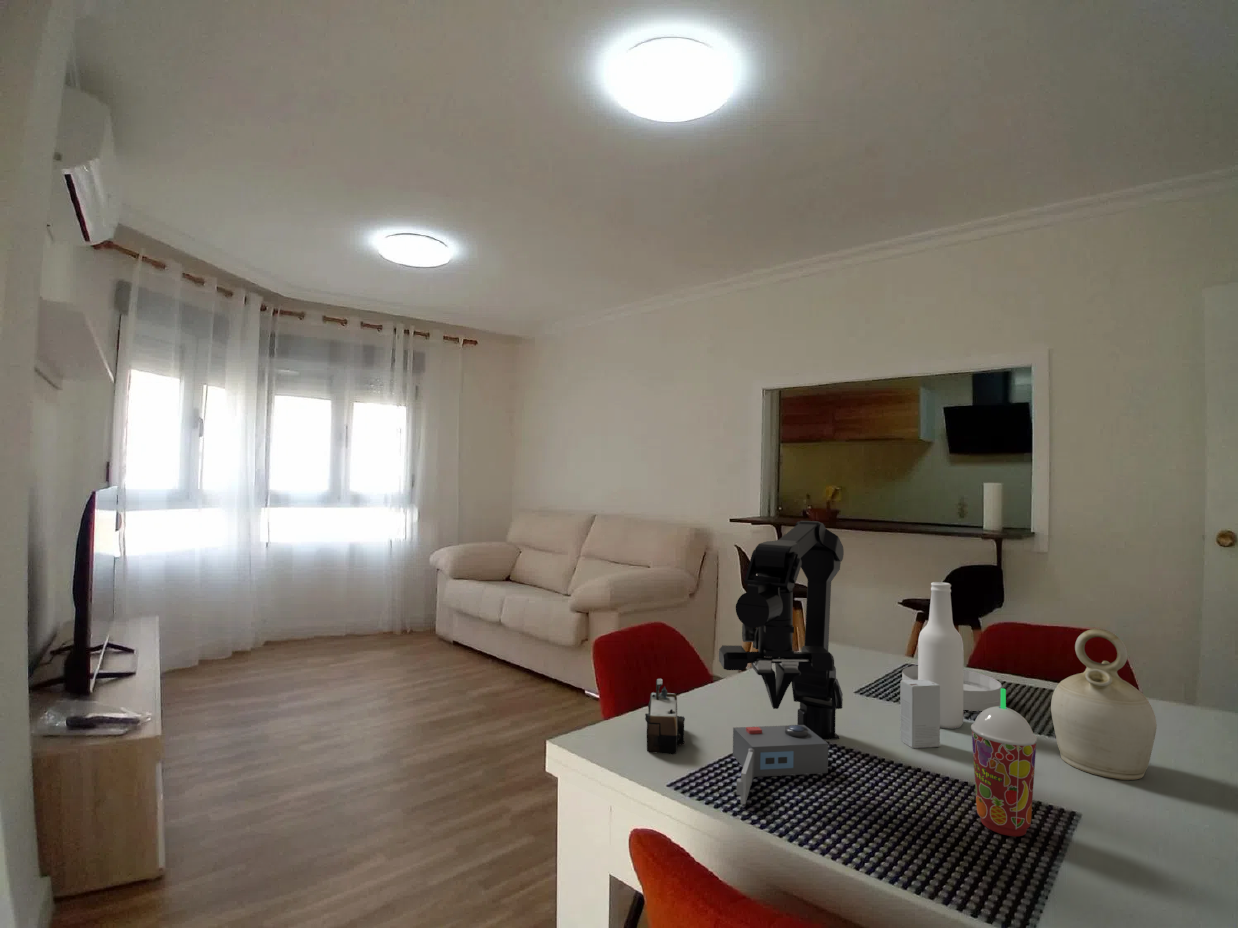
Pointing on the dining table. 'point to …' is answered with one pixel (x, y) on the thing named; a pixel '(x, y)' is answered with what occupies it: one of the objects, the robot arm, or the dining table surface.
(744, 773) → the side door
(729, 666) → the robot arm
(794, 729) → the grey appliance box
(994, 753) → the smoothie
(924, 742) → the skincare box
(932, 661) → the alcohol
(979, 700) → the dish
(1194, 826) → the dining table surface
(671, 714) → the camera
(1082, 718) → the jug
